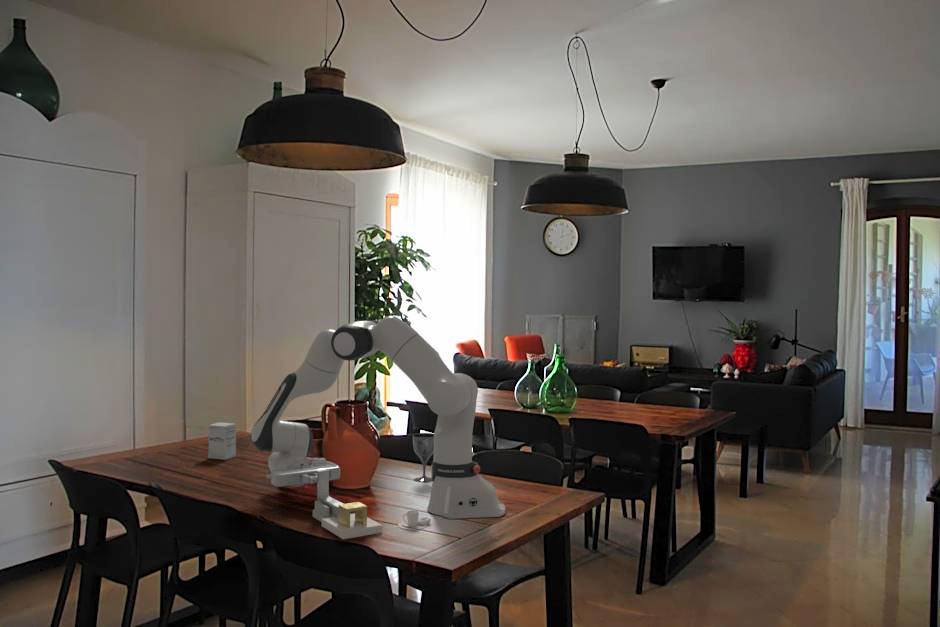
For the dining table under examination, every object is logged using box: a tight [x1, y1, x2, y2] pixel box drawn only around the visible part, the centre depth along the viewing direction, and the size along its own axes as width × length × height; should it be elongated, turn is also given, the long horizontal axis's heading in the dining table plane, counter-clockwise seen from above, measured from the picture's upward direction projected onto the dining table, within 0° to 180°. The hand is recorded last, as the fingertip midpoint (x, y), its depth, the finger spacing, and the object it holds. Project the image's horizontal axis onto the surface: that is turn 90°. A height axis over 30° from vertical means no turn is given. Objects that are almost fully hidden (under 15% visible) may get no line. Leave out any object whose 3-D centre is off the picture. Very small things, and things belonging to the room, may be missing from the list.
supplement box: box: [207, 422, 237, 461], centre depth 297 cm, size 7×7×13 cm
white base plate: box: [321, 512, 383, 540], centre depth 210 cm, size 14×11×2 cm
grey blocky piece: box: [312, 498, 339, 523], centre depth 220 cm, size 8×7×4 cm
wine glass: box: [412, 432, 434, 483], centre depth 267 cm, size 8×8×15 cm
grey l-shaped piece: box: [316, 470, 344, 518], centre depth 218 cm, size 15×3×10 cm, turn 34°
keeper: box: [338, 501, 368, 528], centre depth 208 cm, size 5×6×5 cm
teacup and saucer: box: [397, 510, 431, 531], centre depth 214 cm, size 9×8×4 cm
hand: (316, 480), depth 228 cm, fingers closed
